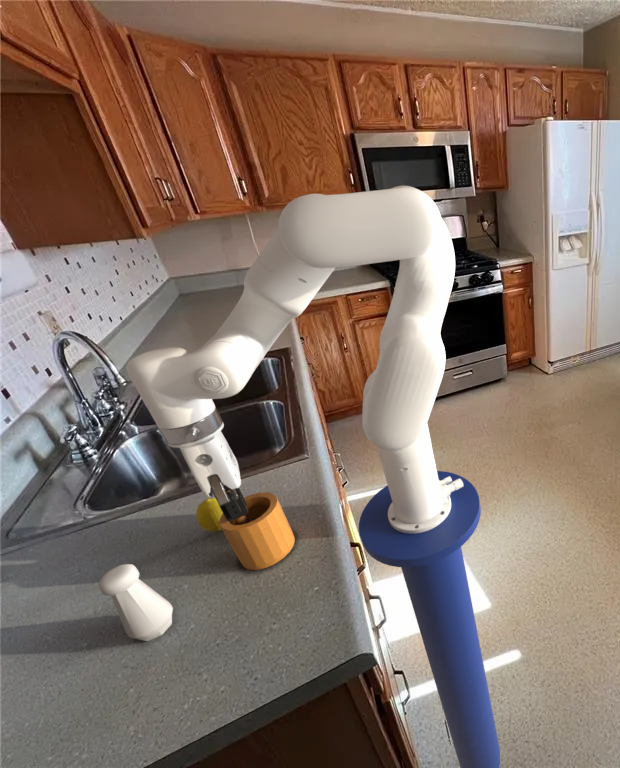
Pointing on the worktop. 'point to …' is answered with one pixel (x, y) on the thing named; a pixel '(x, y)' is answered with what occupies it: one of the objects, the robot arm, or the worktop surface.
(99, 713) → the worktop surface
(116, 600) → the salt shaker
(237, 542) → the jar
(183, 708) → the worktop surface
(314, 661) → the worktop surface
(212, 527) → the lemon
